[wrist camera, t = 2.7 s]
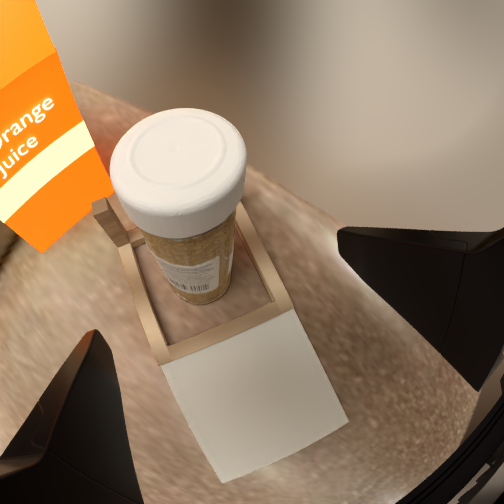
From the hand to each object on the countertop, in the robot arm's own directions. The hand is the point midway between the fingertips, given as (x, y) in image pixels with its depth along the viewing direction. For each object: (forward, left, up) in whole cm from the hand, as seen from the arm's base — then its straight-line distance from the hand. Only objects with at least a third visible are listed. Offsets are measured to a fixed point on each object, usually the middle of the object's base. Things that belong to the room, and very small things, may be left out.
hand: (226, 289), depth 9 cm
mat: (-5, -2, -11) cm, 12 cm away
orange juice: (+12, +14, -11) cm, 22 cm away
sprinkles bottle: (+4, +1, -11) cm, 12 cm away
